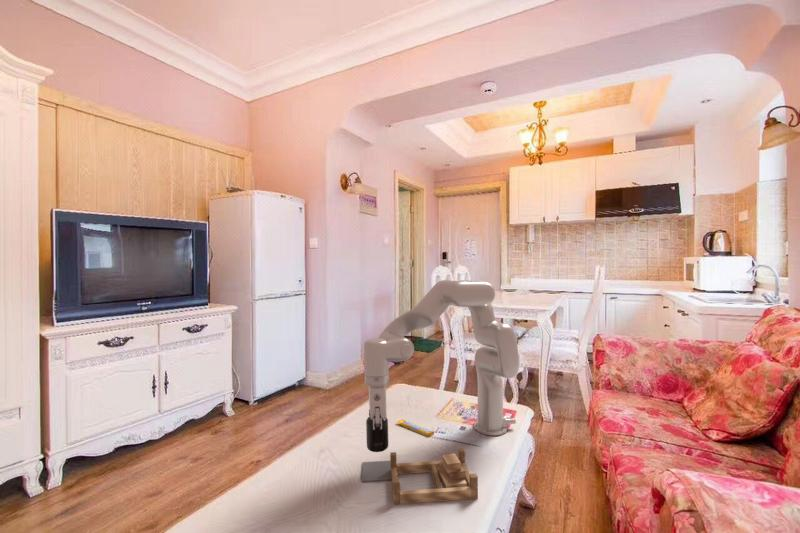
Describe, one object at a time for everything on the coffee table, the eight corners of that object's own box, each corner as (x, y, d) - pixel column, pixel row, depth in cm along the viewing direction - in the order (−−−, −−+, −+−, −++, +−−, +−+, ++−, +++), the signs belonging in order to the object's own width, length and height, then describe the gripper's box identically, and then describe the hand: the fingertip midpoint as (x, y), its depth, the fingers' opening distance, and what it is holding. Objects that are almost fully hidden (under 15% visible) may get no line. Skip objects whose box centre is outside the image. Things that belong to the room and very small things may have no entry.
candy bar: (436, 435, 138) (436, 430, 137) (429, 439, 134) (429, 434, 134) (403, 421, 149) (403, 417, 149) (396, 425, 146) (396, 420, 146)
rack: (463, 466, 116) (463, 448, 116) (477, 498, 101) (477, 477, 100) (390, 471, 114) (390, 452, 114) (393, 504, 99) (393, 482, 99)
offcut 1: (454, 461, 110) (454, 453, 110) (460, 471, 105) (460, 462, 105) (442, 463, 109) (442, 455, 109) (447, 472, 104) (447, 464, 104)
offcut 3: (456, 474, 112) (456, 465, 112) (466, 493, 104) (466, 483, 103) (437, 477, 111) (437, 467, 111) (446, 496, 103) (446, 485, 102)
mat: (393, 461, 119) (393, 460, 119) (395, 480, 109) (395, 478, 109) (362, 463, 119) (362, 462, 119) (361, 482, 109) (361, 481, 109)
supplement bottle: (391, 443, 116) (391, 406, 116) (383, 454, 109) (383, 415, 109) (371, 440, 118) (371, 403, 118) (362, 450, 112) (362, 412, 111)
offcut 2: (452, 466, 112) (452, 458, 112) (465, 479, 105) (465, 470, 105) (438, 470, 110) (438, 462, 110) (450, 483, 103) (450, 475, 103)
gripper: (390, 388, 105) (391, 449, 105) (387, 369, 122) (388, 422, 123) (364, 389, 104) (365, 451, 105) (365, 370, 122) (365, 423, 122)
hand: (377, 435), depth 114 cm, fingers closed on supplement bottle, 6 cm apart
